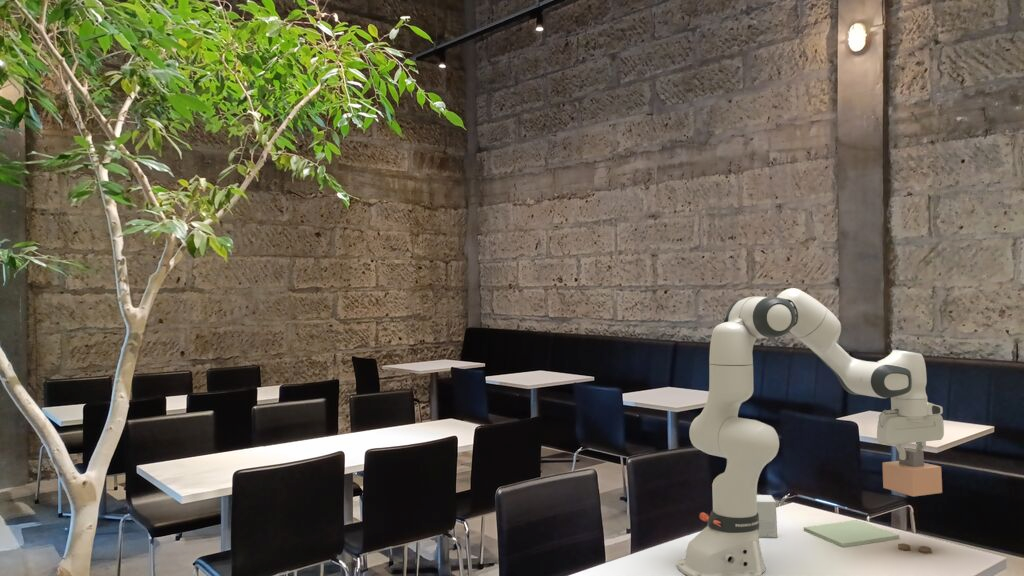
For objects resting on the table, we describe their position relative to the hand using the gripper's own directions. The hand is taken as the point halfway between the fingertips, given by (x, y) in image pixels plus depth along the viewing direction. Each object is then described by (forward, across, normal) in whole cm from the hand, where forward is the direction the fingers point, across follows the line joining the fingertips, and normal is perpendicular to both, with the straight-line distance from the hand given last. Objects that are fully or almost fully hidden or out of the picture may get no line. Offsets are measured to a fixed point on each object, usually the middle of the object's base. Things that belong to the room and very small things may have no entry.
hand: (911, 458), depth 198 cm
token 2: (+25, +2, -2) cm, 25 cm away
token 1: (+25, -2, +2) cm, 25 cm away
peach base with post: (+9, 0, 0) cm, 9 cm away
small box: (+25, -28, +27) cm, 46 cm away
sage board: (+25, -6, +17) cm, 31 cm away
